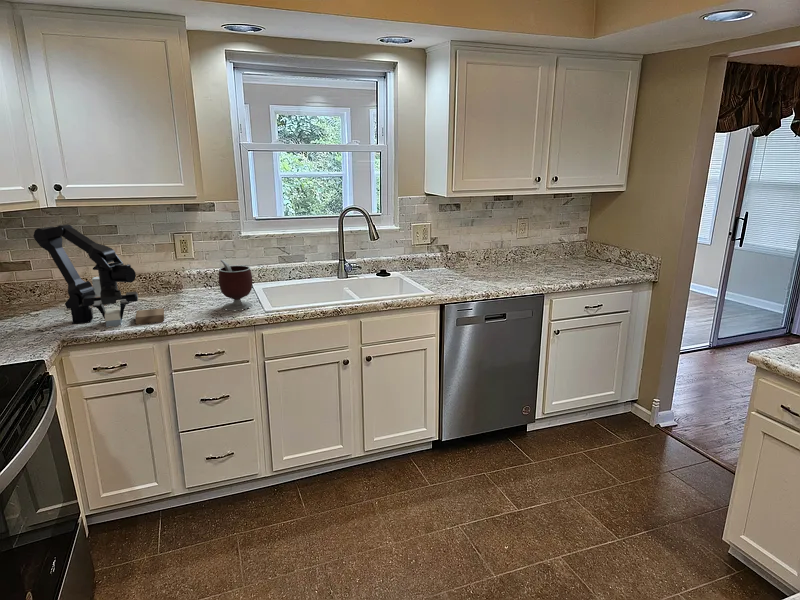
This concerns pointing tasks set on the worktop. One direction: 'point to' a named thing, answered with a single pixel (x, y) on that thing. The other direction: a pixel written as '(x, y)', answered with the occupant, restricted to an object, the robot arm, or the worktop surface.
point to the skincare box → (96, 286)
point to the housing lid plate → (112, 314)
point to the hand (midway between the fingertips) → (114, 319)
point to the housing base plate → (113, 322)
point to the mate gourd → (235, 285)
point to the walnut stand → (149, 316)
